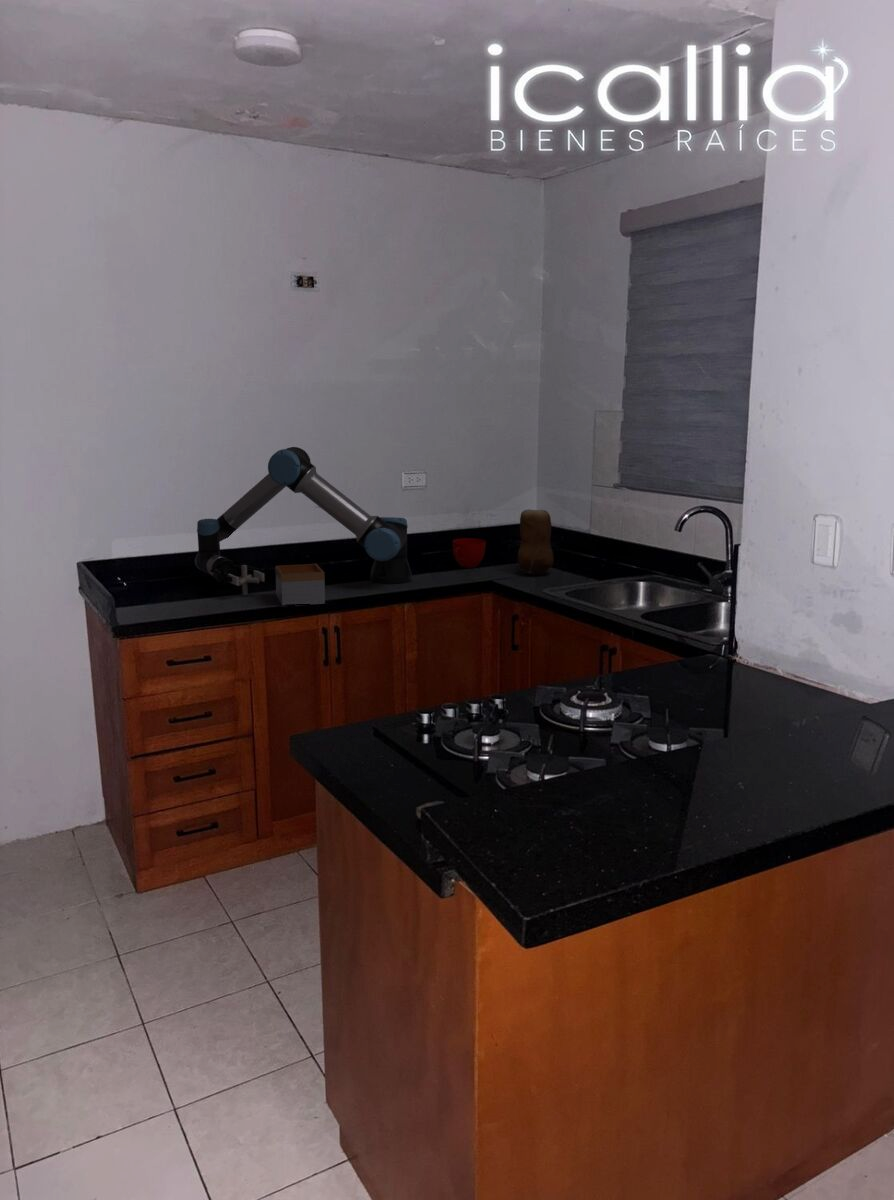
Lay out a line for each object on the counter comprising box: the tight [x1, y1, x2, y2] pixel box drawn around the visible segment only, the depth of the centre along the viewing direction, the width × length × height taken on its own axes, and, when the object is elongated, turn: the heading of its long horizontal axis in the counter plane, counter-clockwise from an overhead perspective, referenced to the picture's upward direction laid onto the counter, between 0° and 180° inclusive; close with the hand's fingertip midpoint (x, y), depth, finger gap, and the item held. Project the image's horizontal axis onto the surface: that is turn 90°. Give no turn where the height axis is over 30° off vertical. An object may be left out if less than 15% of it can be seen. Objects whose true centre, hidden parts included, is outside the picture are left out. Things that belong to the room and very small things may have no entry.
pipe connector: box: [236, 564, 261, 596], centre depth 316 cm, size 10×10×10 cm
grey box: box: [275, 563, 326, 606], centre depth 312 cm, size 14×14×10 cm
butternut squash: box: [517, 508, 555, 576], centre depth 354 cm, size 14×13×25 cm
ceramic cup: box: [452, 537, 487, 569], centre depth 367 cm, size 13×17×10 cm
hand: (250, 579), depth 312 cm, fingers closed on pipe connector, 9 cm apart
